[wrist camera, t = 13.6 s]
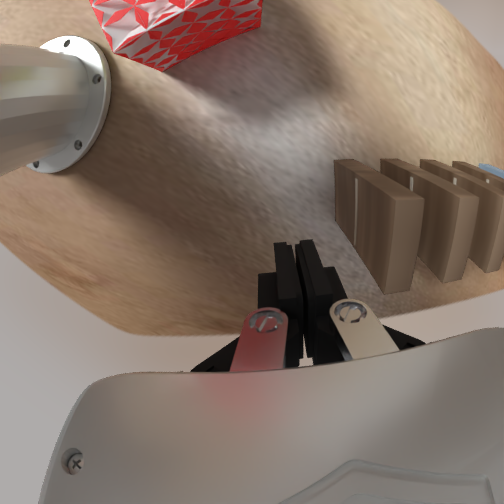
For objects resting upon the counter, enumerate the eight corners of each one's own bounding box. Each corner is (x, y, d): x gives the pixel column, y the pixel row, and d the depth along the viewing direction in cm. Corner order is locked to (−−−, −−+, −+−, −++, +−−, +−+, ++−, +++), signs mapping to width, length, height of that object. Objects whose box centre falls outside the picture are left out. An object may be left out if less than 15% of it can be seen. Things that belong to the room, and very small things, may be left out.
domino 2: (378, 216, 21) (442, 283, 12) (380, 158, 19) (459, 197, 10) (395, 215, 21) (462, 279, 12) (397, 158, 19) (480, 197, 10)
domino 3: (447, 212, 21) (516, 265, 12) (452, 161, 18) (532, 198, 10) (459, 211, 21) (526, 262, 12) (464, 162, 18) (541, 198, 9)
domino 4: (416, 214, 21) (485, 273, 12) (419, 159, 19) (503, 197, 10) (430, 213, 21) (499, 269, 12) (434, 159, 19) (516, 197, 10)
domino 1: (334, 220, 21) (383, 294, 13) (333, 160, 19) (394, 200, 10) (354, 218, 21) (410, 290, 13) (353, 159, 19) (425, 199, 10)
